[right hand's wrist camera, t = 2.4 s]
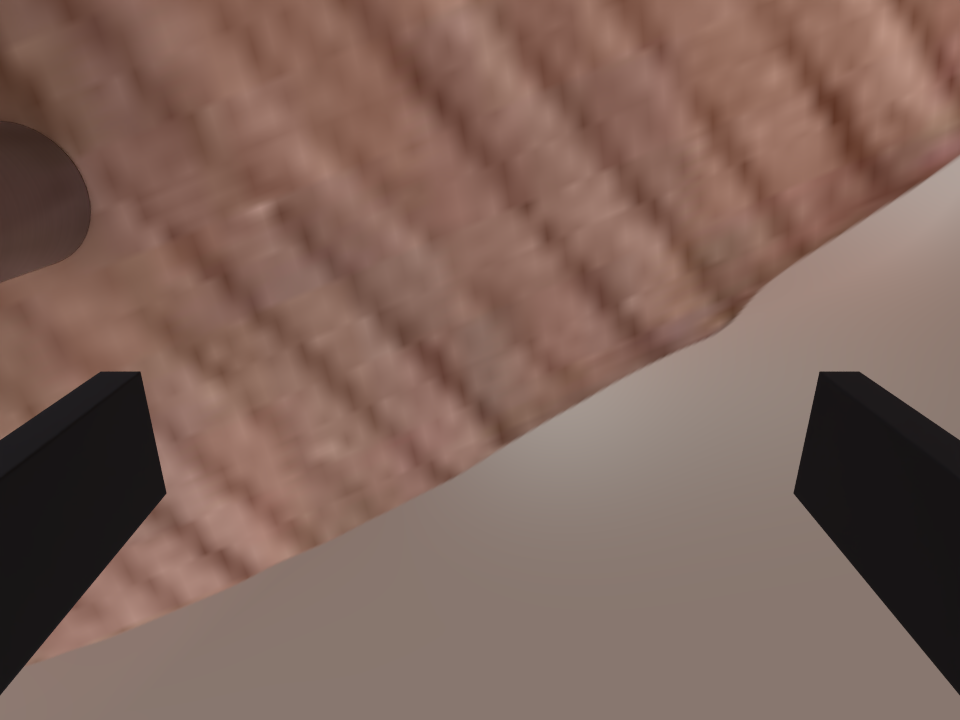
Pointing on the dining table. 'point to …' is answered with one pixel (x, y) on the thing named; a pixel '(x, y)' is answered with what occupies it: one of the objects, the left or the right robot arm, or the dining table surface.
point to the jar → (38, 202)
